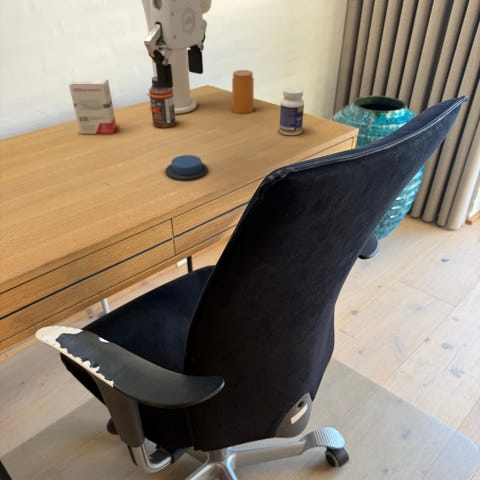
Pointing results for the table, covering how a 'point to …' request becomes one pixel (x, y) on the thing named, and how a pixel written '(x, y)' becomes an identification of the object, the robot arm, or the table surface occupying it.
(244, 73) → the jar
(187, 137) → the table surface
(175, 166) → the jar lid
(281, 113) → the pill bottle
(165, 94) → the supplement bottle
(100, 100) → the ink box
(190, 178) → the coaster
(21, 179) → the table surface
